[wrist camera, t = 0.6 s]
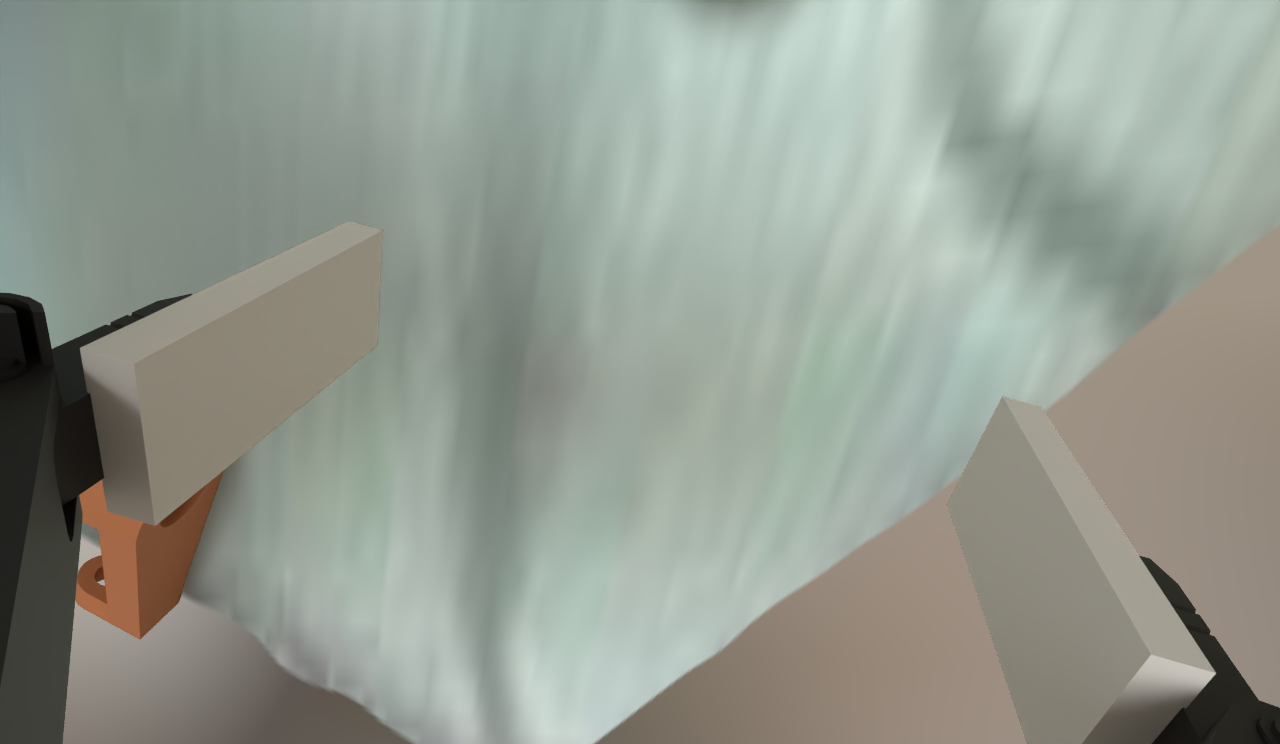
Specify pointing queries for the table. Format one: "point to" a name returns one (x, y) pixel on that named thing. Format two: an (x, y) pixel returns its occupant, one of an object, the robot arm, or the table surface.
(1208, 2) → the table surface
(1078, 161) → the table surface
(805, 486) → the table surface
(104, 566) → the orange elongated piece
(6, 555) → the robot arm
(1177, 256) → the table surface
